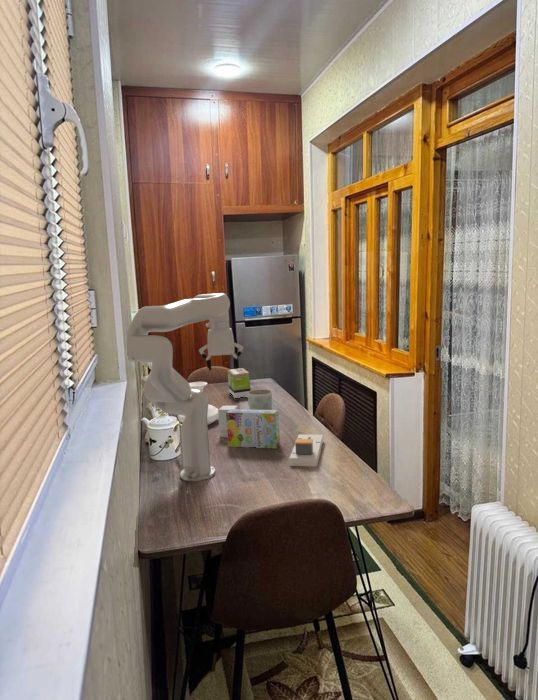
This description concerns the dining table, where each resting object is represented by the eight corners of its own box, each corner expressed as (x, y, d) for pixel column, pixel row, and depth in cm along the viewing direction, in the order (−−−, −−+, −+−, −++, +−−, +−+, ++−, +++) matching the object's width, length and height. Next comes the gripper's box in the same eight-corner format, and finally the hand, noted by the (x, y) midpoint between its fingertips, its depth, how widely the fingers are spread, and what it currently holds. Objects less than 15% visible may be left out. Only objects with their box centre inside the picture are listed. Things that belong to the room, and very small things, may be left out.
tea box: (228, 393, 295) (227, 369, 292) (245, 391, 298) (243, 367, 295) (234, 399, 281) (232, 373, 278) (251, 397, 284) (250, 371, 281)
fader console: (316, 466, 180) (316, 458, 179) (289, 465, 182) (289, 457, 181) (323, 441, 205) (322, 434, 204) (299, 441, 207) (298, 434, 206)
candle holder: (181, 418, 250) (177, 381, 246) (220, 415, 251) (218, 378, 248) (176, 430, 230) (172, 390, 227) (219, 427, 231) (216, 387, 228)
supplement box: (235, 437, 216) (233, 409, 214) (219, 437, 217) (217, 409, 215) (240, 432, 223) (238, 405, 221) (224, 432, 224) (222, 405, 222)
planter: (276, 413, 248) (275, 392, 246) (253, 417, 243) (252, 396, 242) (267, 408, 259) (266, 387, 258) (245, 411, 255) (244, 391, 253)
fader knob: (312, 454, 183) (311, 442, 182) (295, 454, 184) (295, 442, 183) (313, 450, 186) (312, 439, 185) (297, 450, 187) (296, 438, 187)
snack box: (280, 444, 204) (278, 409, 202) (277, 449, 199) (275, 413, 197) (232, 442, 210) (229, 408, 208) (227, 447, 205) (225, 412, 202)
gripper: (196, 328, 186) (199, 372, 189) (242, 325, 187) (244, 369, 190) (197, 325, 193) (201, 368, 196) (242, 323, 194) (244, 365, 197)
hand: (222, 369), depth 193 cm, fingers open, 9 cm apart
